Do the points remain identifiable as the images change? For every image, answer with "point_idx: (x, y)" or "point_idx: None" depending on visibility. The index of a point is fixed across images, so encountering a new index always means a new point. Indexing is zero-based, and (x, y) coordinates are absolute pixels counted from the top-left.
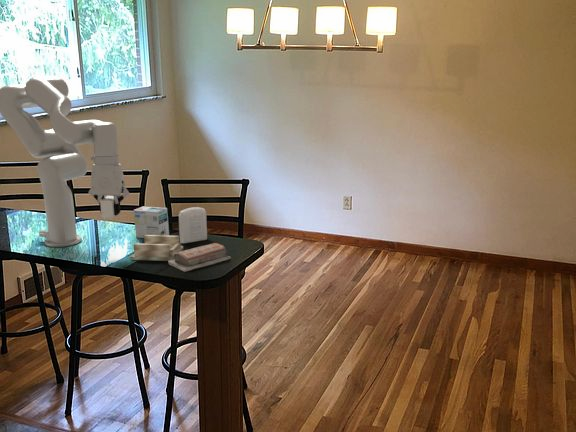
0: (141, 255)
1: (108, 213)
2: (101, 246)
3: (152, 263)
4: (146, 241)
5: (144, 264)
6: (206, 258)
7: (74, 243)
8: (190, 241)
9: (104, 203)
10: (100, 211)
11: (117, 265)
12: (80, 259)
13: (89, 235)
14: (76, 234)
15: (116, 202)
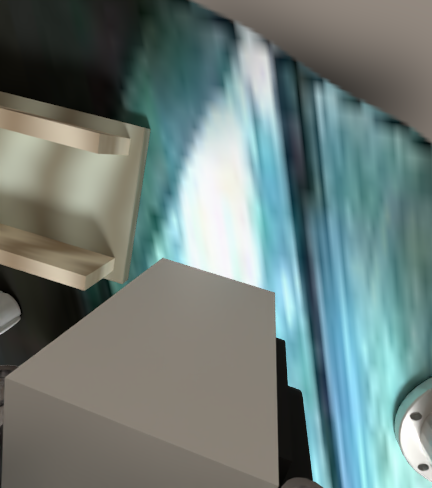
0: (97, 130)
1: (189, 288)
2: (300, 332)
3: (51, 63)
4: (93, 263)
5: (79, 52)
6: None
7: (425, 384)
8: None
9: (192, 387)
10: (294, 390)
11: (191, 48)
12: (381, 167)
13: (364, 474)
14: (429, 450)
15: (3, 389)
